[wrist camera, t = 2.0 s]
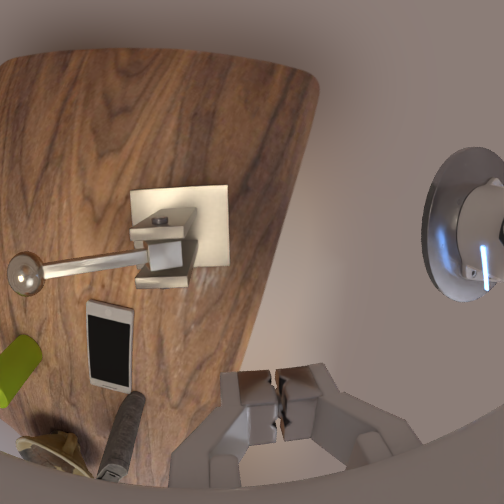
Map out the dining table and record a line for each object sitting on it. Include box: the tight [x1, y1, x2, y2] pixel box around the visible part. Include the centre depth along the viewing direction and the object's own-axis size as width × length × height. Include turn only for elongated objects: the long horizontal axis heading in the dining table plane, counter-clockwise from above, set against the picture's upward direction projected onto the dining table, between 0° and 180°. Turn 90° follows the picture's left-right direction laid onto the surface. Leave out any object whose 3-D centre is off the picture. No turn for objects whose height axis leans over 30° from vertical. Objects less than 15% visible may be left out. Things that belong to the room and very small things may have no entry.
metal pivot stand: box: [129, 185, 230, 289], centre depth 30 cm, size 12×10×15 cm
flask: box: [96, 391, 145, 482], centre depth 35 cm, size 4×14×18 cm, turn 150°
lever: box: [7, 239, 183, 297], centre depth 22 cm, size 15×4×4 cm, turn 90°
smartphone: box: [86, 299, 134, 394], centre depth 40 cm, size 7×16×1 cm, turn 168°
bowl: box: [16, 430, 94, 478], centre depth 40 cm, size 18×18×10 cm
